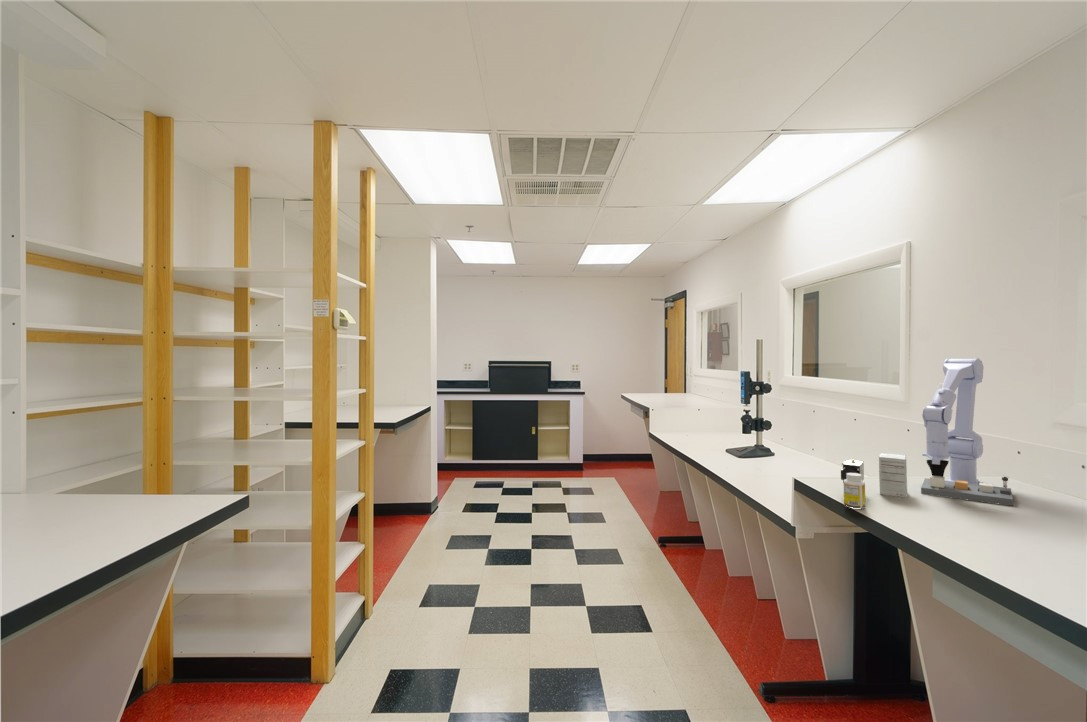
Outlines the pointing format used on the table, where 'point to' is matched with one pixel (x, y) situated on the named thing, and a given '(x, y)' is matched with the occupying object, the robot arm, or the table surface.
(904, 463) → the supplement box
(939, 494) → the control panel
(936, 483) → the block
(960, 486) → the orange button
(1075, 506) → the table surface
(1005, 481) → the toggle lever
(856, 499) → the supplement bottle
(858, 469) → the pneumatic valve
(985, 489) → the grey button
